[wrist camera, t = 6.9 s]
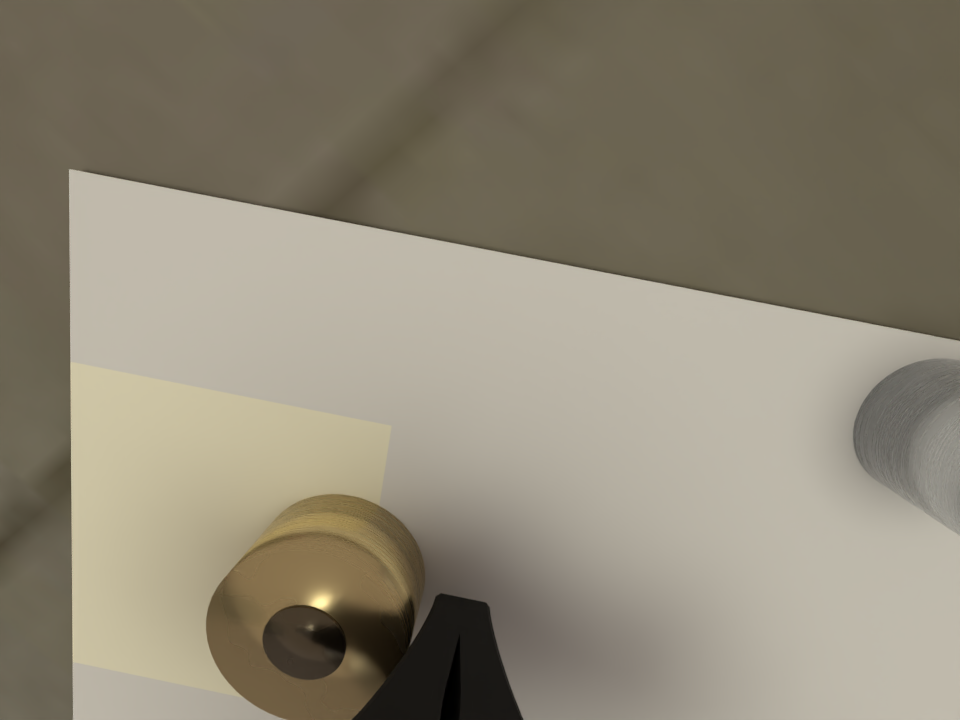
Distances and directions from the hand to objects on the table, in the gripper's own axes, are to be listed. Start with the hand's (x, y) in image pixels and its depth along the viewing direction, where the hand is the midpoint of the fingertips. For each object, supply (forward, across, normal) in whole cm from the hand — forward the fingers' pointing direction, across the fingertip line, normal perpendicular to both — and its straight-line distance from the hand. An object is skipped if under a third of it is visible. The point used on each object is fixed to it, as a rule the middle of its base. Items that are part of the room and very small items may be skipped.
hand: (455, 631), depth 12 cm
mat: (+1, -4, +1) cm, 4 cm away
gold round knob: (+1, +3, 0) cm, 3 cm away
